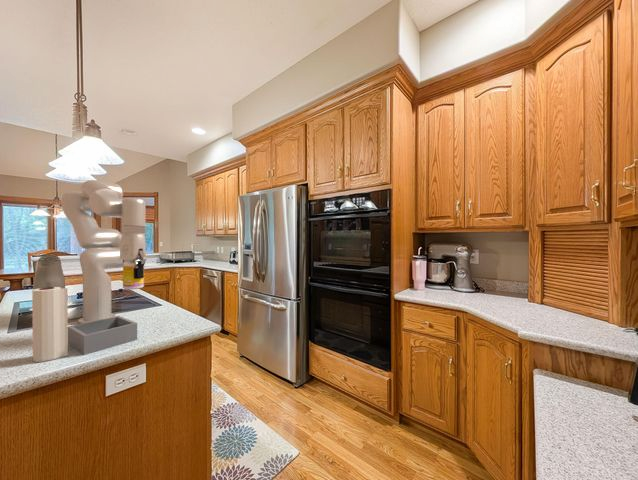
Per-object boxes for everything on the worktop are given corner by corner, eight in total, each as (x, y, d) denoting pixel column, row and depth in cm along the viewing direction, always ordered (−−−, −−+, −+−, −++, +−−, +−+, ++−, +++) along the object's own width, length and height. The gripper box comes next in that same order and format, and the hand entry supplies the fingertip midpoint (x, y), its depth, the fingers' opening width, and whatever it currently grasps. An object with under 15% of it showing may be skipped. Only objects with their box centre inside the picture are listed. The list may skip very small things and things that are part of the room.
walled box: (67, 344, 92) (67, 326, 91) (118, 331, 104) (118, 315, 104) (84, 355, 84) (84, 336, 83) (137, 339, 96) (137, 323, 96)
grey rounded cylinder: (31, 317, 119) (30, 254, 119) (62, 312, 128) (61, 253, 127) (35, 321, 114) (35, 256, 113) (68, 316, 122) (67, 254, 121)
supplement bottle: (133, 290, 99) (134, 255, 98) (118, 289, 100) (118, 255, 99) (148, 286, 105) (148, 254, 105) (133, 285, 106) (133, 253, 106)
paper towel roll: (28, 360, 80) (27, 289, 79) (54, 352, 85) (54, 285, 85) (41, 365, 77) (41, 291, 77) (67, 356, 83) (67, 287, 82)
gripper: (111, 230, 103) (111, 276, 103) (134, 230, 94) (134, 281, 95) (132, 230, 110) (132, 274, 110) (156, 231, 101) (156, 278, 101)
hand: (133, 277), depth 102 cm, fingers closed on supplement bottle, 6 cm apart
